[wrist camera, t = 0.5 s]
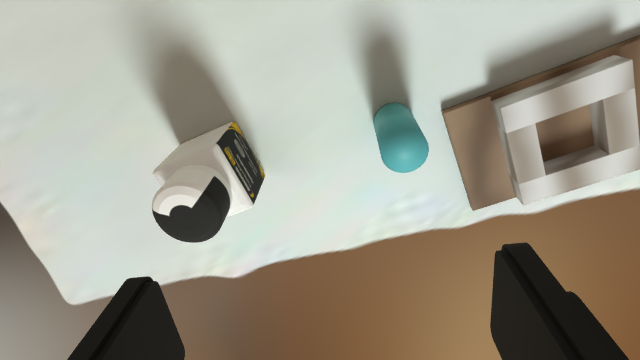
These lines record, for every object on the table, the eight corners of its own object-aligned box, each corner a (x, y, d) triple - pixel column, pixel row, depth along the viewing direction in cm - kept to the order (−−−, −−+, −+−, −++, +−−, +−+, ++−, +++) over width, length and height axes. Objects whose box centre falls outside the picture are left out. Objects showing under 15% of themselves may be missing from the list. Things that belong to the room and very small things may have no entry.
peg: (394, 94, 39) (407, 119, 32) (421, 121, 40) (438, 151, 33) (365, 122, 40) (371, 151, 33) (391, 147, 41) (402, 181, 34)
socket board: (660, 27, 35) (692, 31, 32) (666, 143, 40) (694, 156, 36) (441, 111, 39) (450, 121, 36) (470, 206, 44) (480, 223, 41)
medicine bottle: (266, 175, 44) (242, 237, 33) (212, 197, 45) (172, 262, 34) (235, 119, 41) (197, 166, 30) (179, 144, 42) (123, 197, 32)
